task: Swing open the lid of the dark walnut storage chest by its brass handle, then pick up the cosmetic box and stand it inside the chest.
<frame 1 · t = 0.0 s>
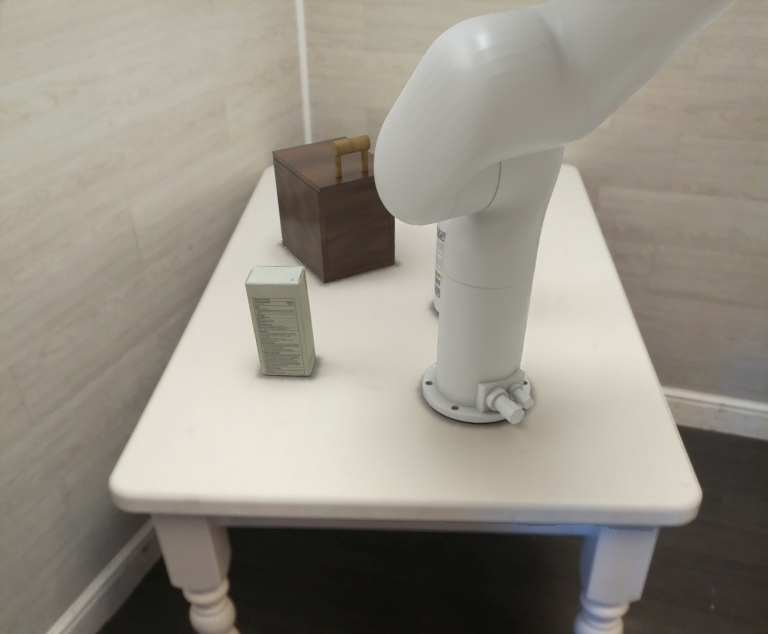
chest: (337, 253, 110), on the table
bath foam: (459, 309, 99), on the table
cosmetic box: (288, 367, 89), on the table
lid: (332, 146, 99), point 16 cm above the table, hinge at 0.0°
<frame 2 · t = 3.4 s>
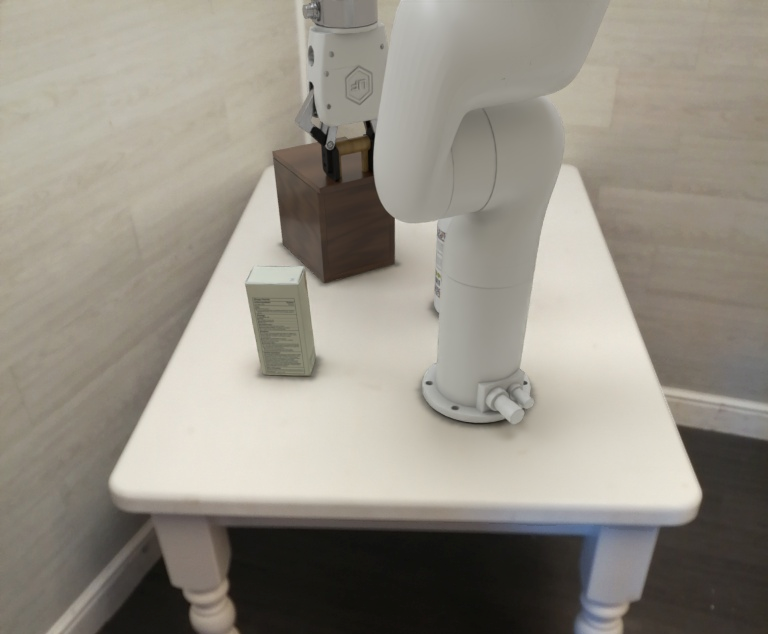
hand: (351, 172, 97), 14 cm above the table, tool pointing down, fingers closed on lid, 5 cm apart
lid: (332, 146, 99), point 16 cm above the table, hinge at -0.1°, touching gripper
everything else where it was.
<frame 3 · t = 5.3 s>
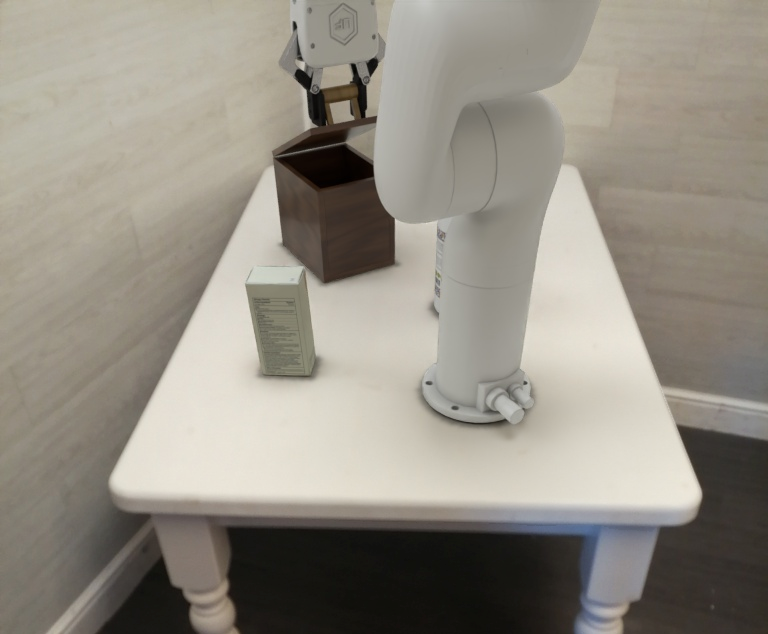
hand: (338, 119, 95), 20 cm above the table, tool pointing down, fingers closed on lid, 5 cm apart
lid: (325, 118, 98), point 19 cm above the table, hinge at 25.6°, touching gripper
everything else where it was.
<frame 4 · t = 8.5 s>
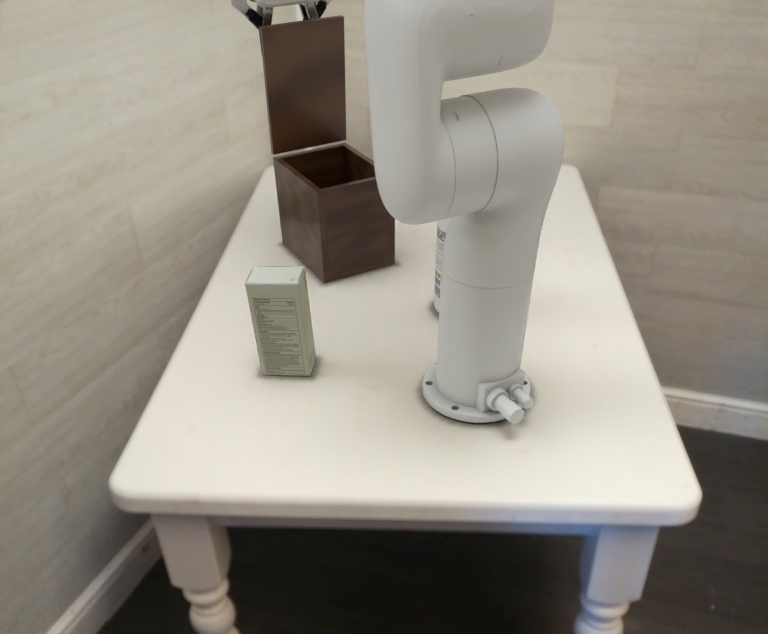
hand: (290, 60, 101), 24 cm above the table, tool pointing down, fingers closed on lid, 5 cm apart
lid: (299, 82, 101), point 21 cm above the table, hinge at 86.6°, touching gripper
everything else where it was.
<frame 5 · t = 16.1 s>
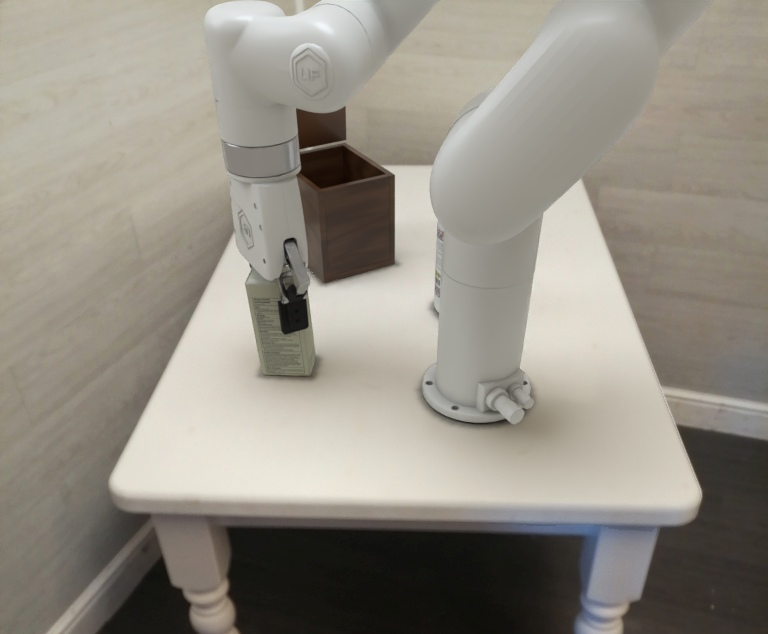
hand: (281, 314, 84), 7 cm above the table, tool pointing down, fingers closed on cosmetic box, 6 cm apart
cosmetic box: (288, 367, 89), on the table, touching gripper
lid: (299, 82, 101), point 21 cm above the table, hinge at 87.1°
everything else where it was.
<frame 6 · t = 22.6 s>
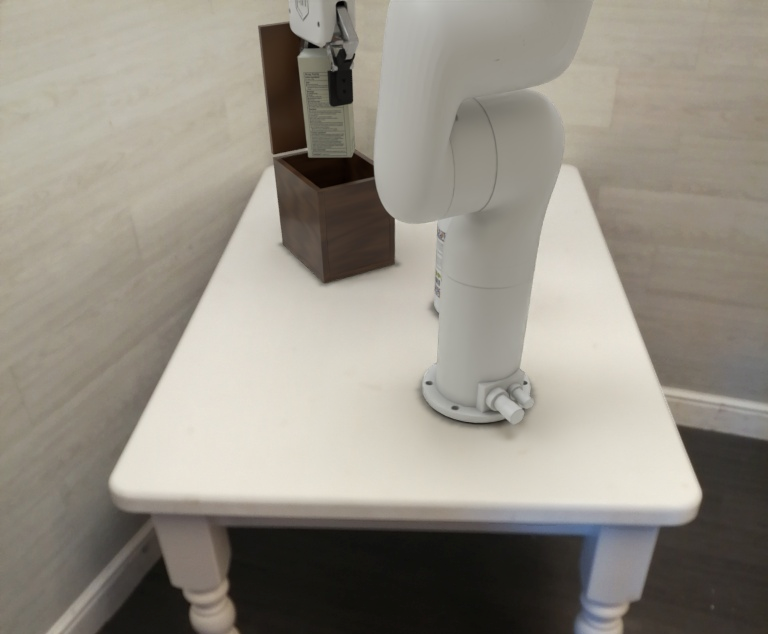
hand: (328, 95, 95), 22 cm above the table, tool pointing down, fingers closed on cosmetic box, 6 cm apart
cosmetic box: (331, 154, 100), point 14 cm above the table, touching gripper
lid: (298, 82, 101), point 21 cm above the table, hinge at 88.4°
everything else where it was.
when the fingers open (8 cm above the table, at t = 26.7 s): cosmetic box stays where it is, resting on chest.
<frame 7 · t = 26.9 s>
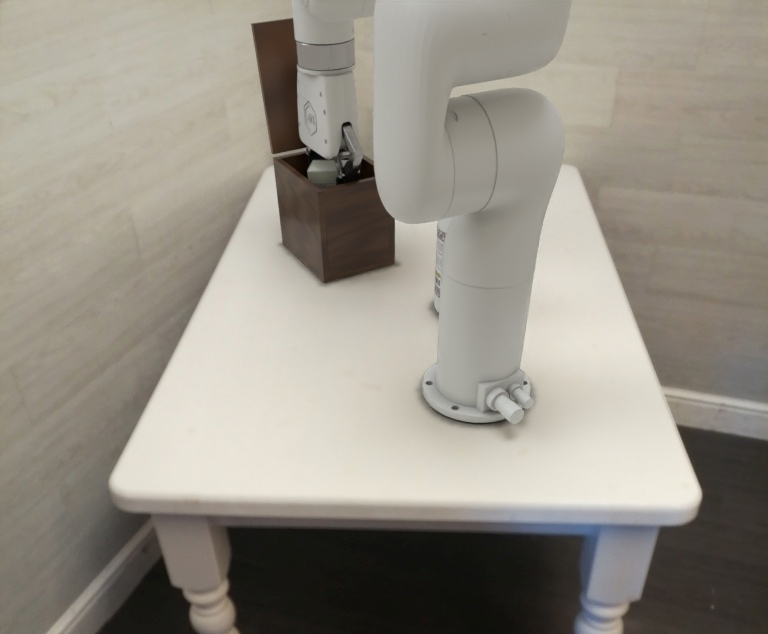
hand: (334, 193, 104), 9 cm above the table, tool pointing down, fingers open, 8 cm apart
cosmetic box: (337, 249, 110), point 1 cm above the table, touching chest
lid: (295, 83, 102), point 21 cm above the table, hinge at 97.6°
everything else where it was.
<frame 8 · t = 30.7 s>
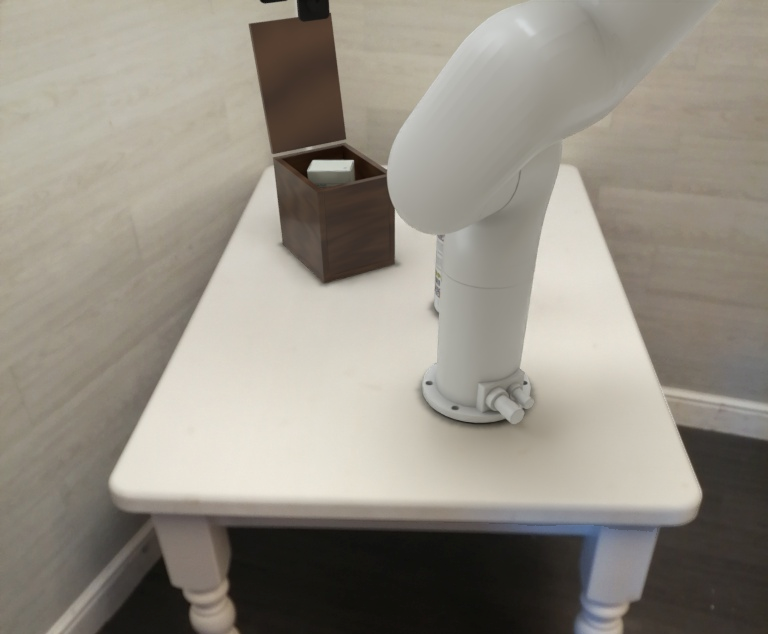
hand: (293, 10, 74), 34 cm above the table, tool pointing down, fingers open, 9 cm apart
lid: (294, 84, 103), point 21 cm above the table, hinge at 101.1°
everything else where it was.
at the end: lid at +101° (first picture: +0°); cosmetic box inside the target area in the chest (0.1 cm from its centre), point 0.7 cm above the chest's base; cosmetic box tilted 0° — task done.
